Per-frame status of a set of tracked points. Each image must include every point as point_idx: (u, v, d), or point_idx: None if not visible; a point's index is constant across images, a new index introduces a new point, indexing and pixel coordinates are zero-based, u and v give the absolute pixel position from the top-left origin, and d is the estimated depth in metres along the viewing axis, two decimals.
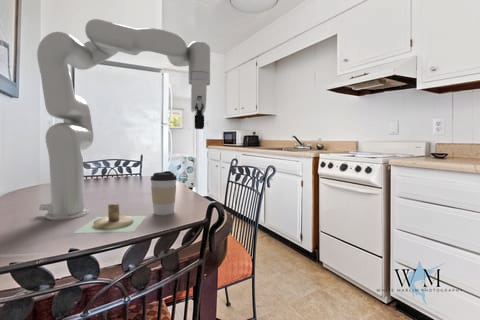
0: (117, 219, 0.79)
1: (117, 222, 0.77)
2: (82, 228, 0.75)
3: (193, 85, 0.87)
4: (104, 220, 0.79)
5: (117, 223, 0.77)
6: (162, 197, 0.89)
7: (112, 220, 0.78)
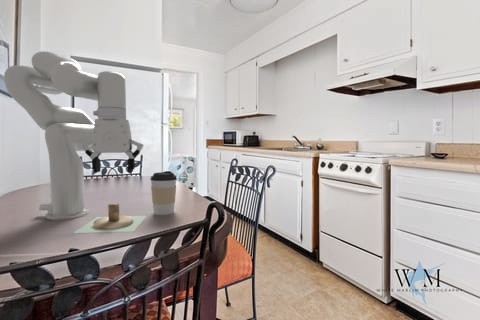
0: (117, 219, 0.79)
1: (118, 222, 0.77)
2: (82, 228, 0.75)
3: (126, 125, 0.76)
4: (104, 220, 0.79)
5: (117, 223, 0.77)
6: (162, 197, 0.89)
7: (112, 220, 0.78)
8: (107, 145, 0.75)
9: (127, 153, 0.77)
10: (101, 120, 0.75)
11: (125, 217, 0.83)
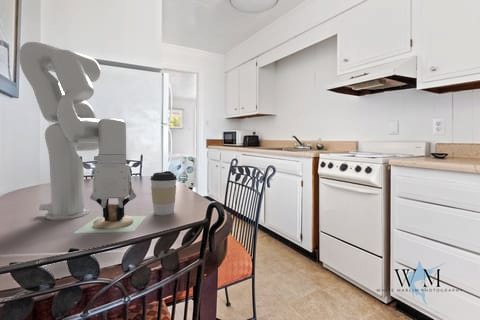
0: None
1: (118, 222, 0.77)
2: (82, 228, 0.75)
3: (126, 170, 0.77)
4: (103, 220, 0.79)
5: (117, 223, 0.77)
6: (162, 197, 0.89)
7: (112, 220, 0.78)
8: (107, 191, 0.76)
9: (119, 201, 0.78)
10: (102, 166, 0.76)
11: (125, 217, 0.83)
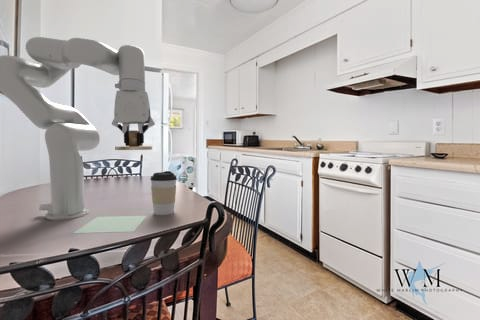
0: (137, 145, 0.82)
1: (137, 146, 0.80)
2: (82, 228, 0.75)
3: (145, 96, 0.80)
4: (124, 146, 0.82)
5: None
6: (162, 197, 0.89)
7: (132, 145, 0.81)
8: (128, 115, 0.79)
9: (139, 126, 0.81)
10: (122, 91, 0.79)
11: None
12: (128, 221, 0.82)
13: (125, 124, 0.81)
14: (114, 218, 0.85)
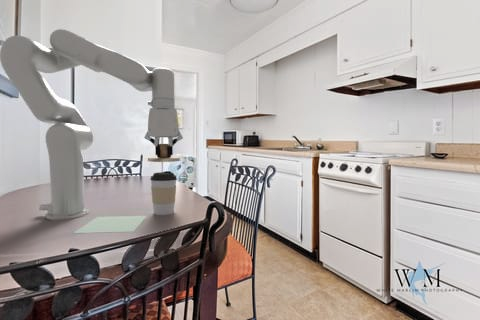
0: (167, 156, 0.91)
1: (169, 158, 0.90)
2: (82, 228, 0.75)
3: (175, 113, 0.90)
4: None
5: (169, 158, 0.89)
6: (162, 197, 0.89)
7: (163, 157, 0.90)
8: (160, 130, 0.88)
9: (169, 140, 0.91)
10: (155, 109, 0.88)
11: (172, 157, 0.95)
12: (128, 221, 0.82)
13: (157, 138, 0.90)
14: (114, 218, 0.85)
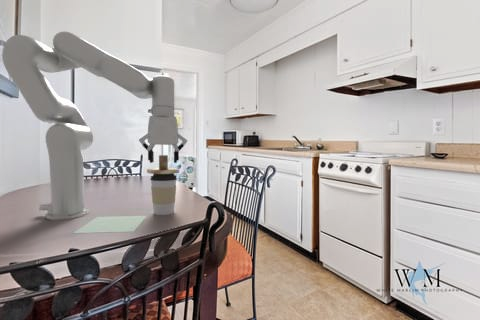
0: (166, 168, 0.91)
1: (168, 170, 0.90)
2: (82, 228, 0.75)
3: (175, 121, 0.90)
4: (155, 169, 0.91)
5: (168, 170, 0.89)
6: (162, 197, 0.89)
7: (163, 168, 0.91)
8: (160, 138, 0.89)
9: (174, 146, 0.91)
10: (155, 117, 0.88)
11: (171, 168, 0.95)
12: (128, 221, 0.82)
13: (152, 144, 0.90)
14: (114, 218, 0.85)
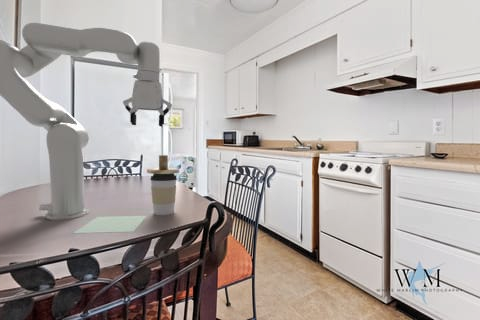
0: (166, 168, 0.91)
1: (168, 170, 0.90)
2: (82, 228, 0.75)
3: (159, 86, 0.93)
4: (155, 169, 0.91)
5: (168, 170, 0.89)
6: (162, 197, 0.89)
7: (163, 168, 0.91)
8: (144, 101, 0.92)
9: (159, 110, 0.94)
10: (140, 81, 0.92)
11: (171, 168, 0.95)
12: (128, 221, 0.82)
13: (135, 107, 0.93)
14: (114, 218, 0.85)
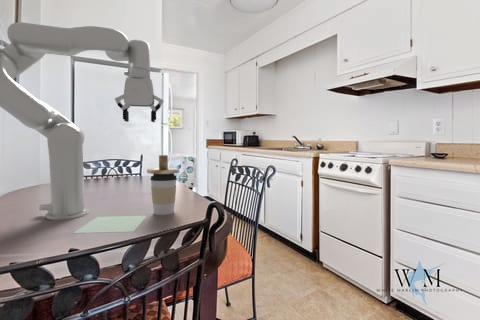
0: (166, 168, 0.91)
1: (168, 170, 0.90)
2: (82, 228, 0.75)
3: (150, 83, 0.95)
4: (155, 169, 0.91)
5: (168, 170, 0.89)
6: (162, 197, 0.89)
7: (163, 168, 0.91)
8: (135, 98, 0.94)
9: (151, 106, 0.97)
10: (131, 78, 0.94)
11: (171, 168, 0.95)
12: (128, 221, 0.82)
13: (127, 104, 0.96)
14: (114, 218, 0.85)
